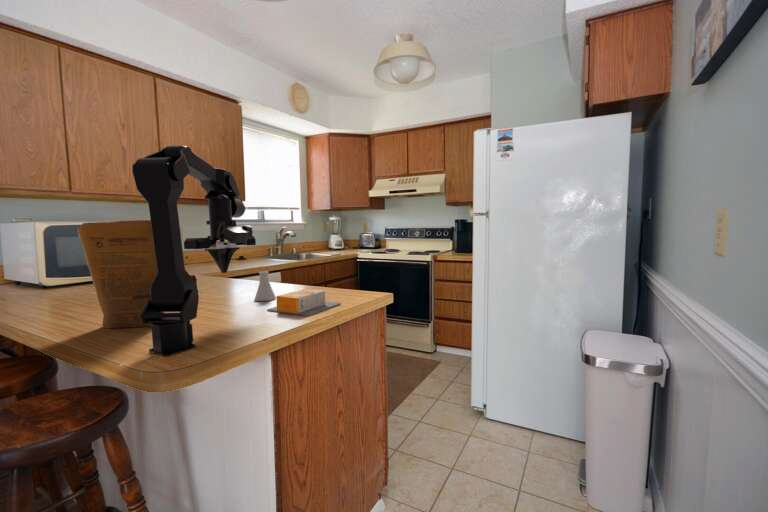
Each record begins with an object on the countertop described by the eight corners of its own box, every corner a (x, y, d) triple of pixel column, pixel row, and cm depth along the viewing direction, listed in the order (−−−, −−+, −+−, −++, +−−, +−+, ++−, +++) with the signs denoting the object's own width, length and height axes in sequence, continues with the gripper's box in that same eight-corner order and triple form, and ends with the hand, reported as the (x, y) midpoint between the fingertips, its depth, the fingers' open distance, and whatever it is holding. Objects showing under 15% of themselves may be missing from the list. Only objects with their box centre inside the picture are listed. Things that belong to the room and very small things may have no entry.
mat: (307, 316, 98) (307, 314, 98) (267, 310, 106) (267, 309, 105) (340, 304, 112) (340, 303, 112) (303, 300, 119) (302, 299, 119)
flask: (260, 297, 127) (259, 270, 126) (279, 297, 126) (278, 270, 125) (250, 301, 120) (248, 273, 119) (270, 302, 119) (268, 273, 118)
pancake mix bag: (162, 328, 89) (154, 219, 87) (84, 331, 88) (73, 221, 86) (176, 321, 96) (168, 220, 94) (103, 324, 95) (94, 221, 92)
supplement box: (275, 295, 102) (305, 288, 113) (276, 311, 102) (305, 302, 114) (297, 297, 98) (325, 290, 110) (297, 314, 98) (325, 304, 110)
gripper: (207, 215, 83) (212, 279, 85) (267, 216, 100) (270, 270, 101) (180, 216, 89) (185, 277, 90) (241, 217, 105) (244, 268, 106)
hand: (224, 272), depth 97 cm, fingers closed
